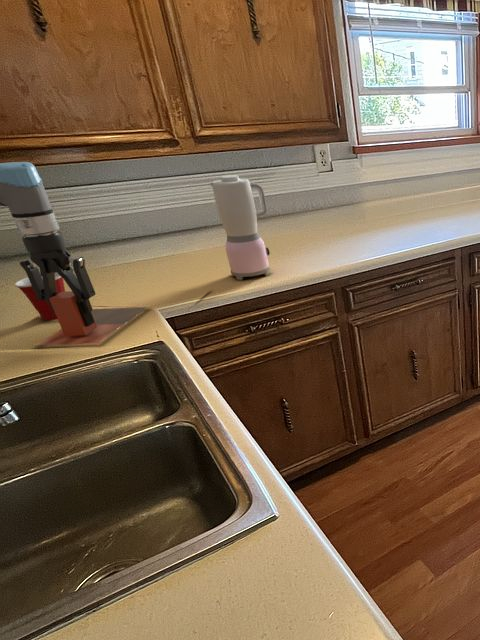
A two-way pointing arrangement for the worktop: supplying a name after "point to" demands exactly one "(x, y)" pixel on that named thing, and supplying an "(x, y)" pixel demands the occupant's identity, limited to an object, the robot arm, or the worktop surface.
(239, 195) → the blender
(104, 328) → the sorting board
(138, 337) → the worktop surface
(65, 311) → the terracotta block
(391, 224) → the worktop surface
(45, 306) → the plastic cup
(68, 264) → the robot arm
